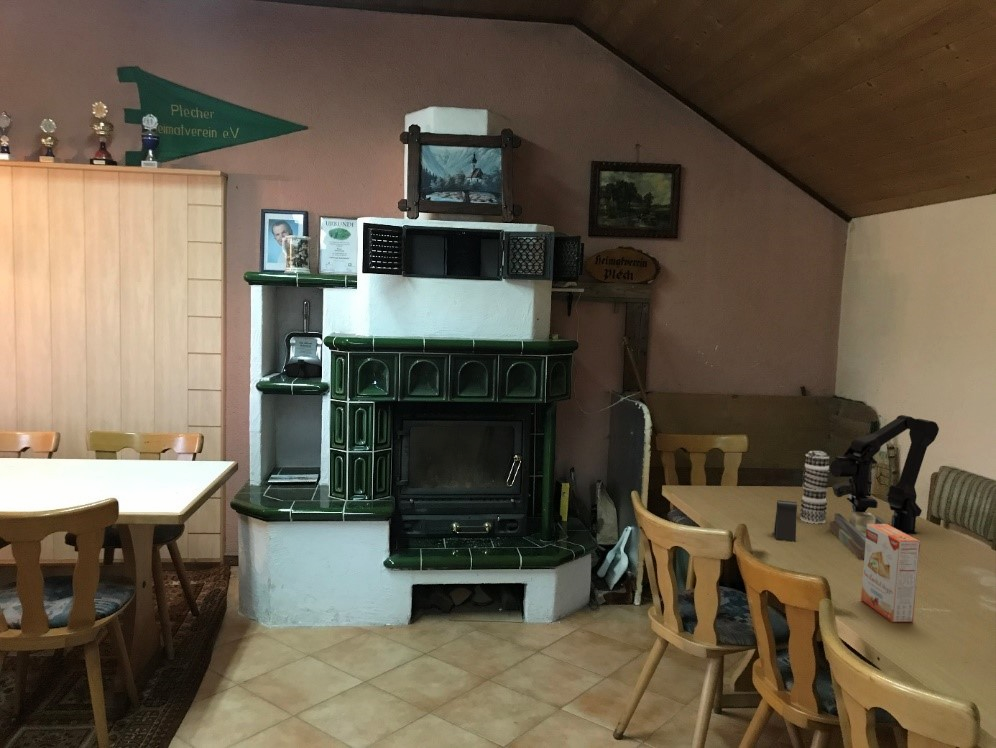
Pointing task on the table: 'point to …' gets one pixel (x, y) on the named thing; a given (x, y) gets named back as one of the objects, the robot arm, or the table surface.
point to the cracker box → (890, 572)
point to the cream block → (861, 520)
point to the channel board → (851, 534)
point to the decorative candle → (815, 487)
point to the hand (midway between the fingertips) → (856, 521)
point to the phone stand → (785, 521)
